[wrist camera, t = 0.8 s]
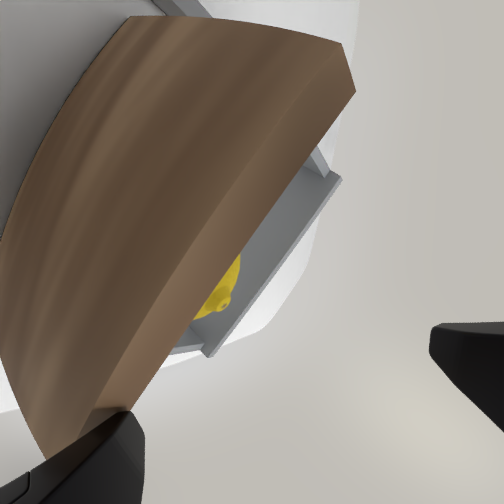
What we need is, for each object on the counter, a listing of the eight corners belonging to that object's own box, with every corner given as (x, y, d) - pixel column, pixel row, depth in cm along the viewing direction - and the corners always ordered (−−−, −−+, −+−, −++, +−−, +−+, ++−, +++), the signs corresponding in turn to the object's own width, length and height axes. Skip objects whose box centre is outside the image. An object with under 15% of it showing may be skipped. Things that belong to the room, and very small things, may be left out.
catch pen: (-60, 321, 9) (-48, 389, 7) (123, -51, 6) (180, -74, 4) (184, 325, 27) (212, 356, 26) (303, 157, 25) (342, 180, 23)
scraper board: (-16, 300, 10) (57, 477, 6) (130, 16, 9) (340, 43, 5) (11, 303, 12) (91, 467, 8) (154, 37, 10) (356, 91, 6)
